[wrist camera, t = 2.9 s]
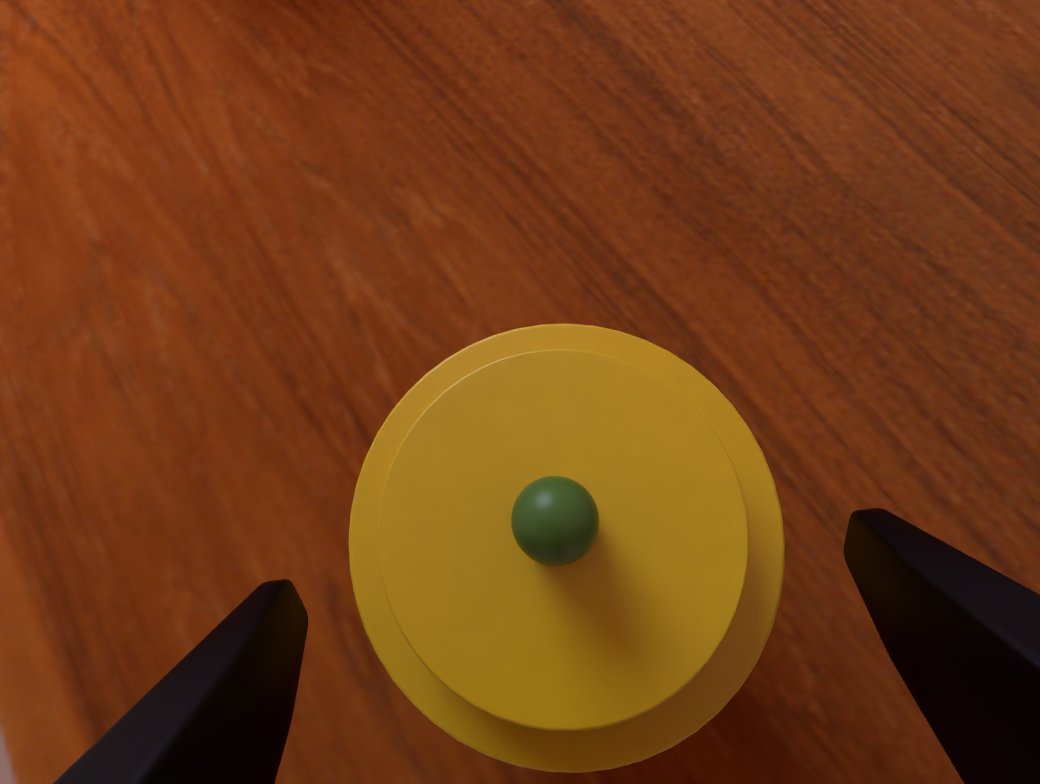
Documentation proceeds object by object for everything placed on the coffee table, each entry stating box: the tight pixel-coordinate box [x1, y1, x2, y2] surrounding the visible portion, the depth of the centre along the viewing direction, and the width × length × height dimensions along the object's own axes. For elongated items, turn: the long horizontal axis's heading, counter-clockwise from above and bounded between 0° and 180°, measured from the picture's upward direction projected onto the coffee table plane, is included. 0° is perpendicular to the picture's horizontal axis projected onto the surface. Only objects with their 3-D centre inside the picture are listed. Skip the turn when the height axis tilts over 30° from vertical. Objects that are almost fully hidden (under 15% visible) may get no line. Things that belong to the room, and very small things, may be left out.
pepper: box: [349, 324, 785, 773], centre depth 12 cm, size 7×7×12 cm
